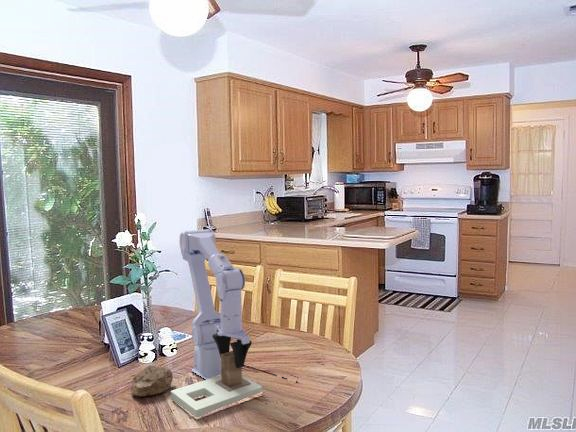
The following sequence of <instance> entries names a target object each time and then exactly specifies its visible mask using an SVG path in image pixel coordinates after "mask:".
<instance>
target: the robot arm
mask: <svg viewBox="0 0 576 432" xmlns="http://www.w3.org/2000/svg"><path fill="white" fill-rule="evenodd" d="M179 248H180V254H181V257H182V260H183V261H186V262H187V264H188V267H189V273H190V276H191V277H190V278H191V282H192V283H191V284H192V287H193V292H194V297H195V302H196V306H197V311H198V314H197V316H196V317H195V318H193V320H192V321H191V337H192V340H193V344H194V345H195V346H194V347H193V348H194V349H193V368H192V369H191V372H192V373H193V372H194V374H195V373H196V374H195V375H196V376H198V375H199V377H200V376H201V377H202V378H201V377H200V378H201V379H203V378H204V379H206V380H207V379H210V378H213V377H214V376H217V375H220V374H221V354H223V353H227V352H230V347H231V349H232V350H231V351H233V353H234V358H235V366H236V368H240V367H242V368H243V367H245V366H244V364H245V362H246V358H247V355H248V352H249V349H250V347H251V346H252V340H251V339H250V338H251V337H250V335H249V334H247V333H246V331H245V330H244V329H243V317H242V316H243V315H242V313H243V311H242V306H243V305H242V290H244V288H245V285H246V278H245V273H244V272H243V271H244V270H243V269H241V268H238V267H234V265H233V264H232V262H230V260H229V258H228V257H227V256H226V254H224V253H220V252H219V249H218V247H217V246H216V234H215V231H214V230H213V229H211V228H207V229H196V230H195V229H193V230H182V231H181V232H180V235H179ZM206 260H208V262H207V266H208V269H210V271H211V273H212V275H213V276H214V278H215V283H216V288H217V297H218V298H219V301H220V302H219V308H220V309H219V310H220V312H218V311H217V310H216V309H215V304H214V300H213V296H212V291H211V286H210V280H209V278H208V272H207V268H206V262H205V261H206ZM232 339H233V340H236V341H233V342H231V340H232ZM212 376H213V377H212ZM204 379H203V380H204Z"/></svg>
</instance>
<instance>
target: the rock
mask: <svg viewBox="0 0 576 432" xmlns="http://www.w3.org/2000/svg"><path fill="white" fill-rule="evenodd" d="M173 375H174V374H173V372H172V371H171V369H170V368H169V367H167V368H166V367H164V366H160V365H159V366H155V365H147V366H146V367H145V368H144V369H142V370H140V371H138V372H137V373H136V374H135V376H134V377H133V378H132V380H131V386H130V387H131V388H130V391H131V392H130V394H131V395H132V396H137V397H141V398H142V397H147V396H155V395H159V394H162V393H164V392H166V391H167V390H168V389H169V388H171V386H172V382H173Z"/></svg>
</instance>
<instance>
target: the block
mask: <svg viewBox="0 0 576 432" xmlns="http://www.w3.org/2000/svg"><path fill="white" fill-rule="evenodd" d="M242 368H243V367H240V368H236V366H235V358H234V353H233V350H231V351H230V350H229V352H227V353H223V354H221V378H222V383H223V384H225V385H226V386H228V387H232V386H235V385H238V384H241V383H242V376H243V373H242V370H243V369H242Z"/></svg>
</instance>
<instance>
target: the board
mask: <svg viewBox="0 0 576 432" xmlns="http://www.w3.org/2000/svg"><path fill="white" fill-rule="evenodd" d="M263 391H264V390H263V386H262V385H260V384H259V383H256V382H255V381H254V380H251V379H249V378H248V377H246V376H244V375H242V383H241V384H238V385H235V386H232V387H228V386H226V385H225V384H223V383H222V378H221V375H220V376H217V377H214V378H210V379H207V380H204V379H203V380H201V381H198V382H195V383H192V384H188V385H185V386H182V387H179V388H176V389H173V390H170V401H171V400H173V401H174V402H176V403H177V404H179V405H180V406H182V407H183V408H184V409H186V410H187V411H189V412H190V413H191V414H192V415H194V416H195V417H199V416H202V415H204V414H206V413H208V412H211V411H213V410H216V409H218V408H221V407H223V406H226V405H229V404H232V403H234V402H237V401H240V400H242V399H244V398H247V397H249V396H252V395H255V394H257V393H260V392H263ZM263 393H264V392H263ZM202 395H206V396H208V397H207V398H206V397H203V398H200V399H197V400H193V399H194V398H196V397H199V396H202ZM173 401H172V402H173ZM174 402H173V403H174ZM177 404H176V405H177Z"/></svg>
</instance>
